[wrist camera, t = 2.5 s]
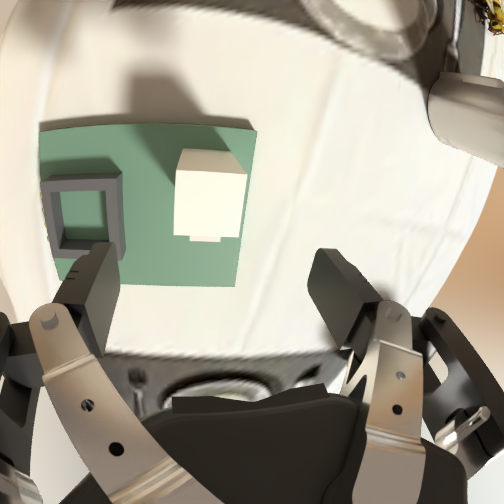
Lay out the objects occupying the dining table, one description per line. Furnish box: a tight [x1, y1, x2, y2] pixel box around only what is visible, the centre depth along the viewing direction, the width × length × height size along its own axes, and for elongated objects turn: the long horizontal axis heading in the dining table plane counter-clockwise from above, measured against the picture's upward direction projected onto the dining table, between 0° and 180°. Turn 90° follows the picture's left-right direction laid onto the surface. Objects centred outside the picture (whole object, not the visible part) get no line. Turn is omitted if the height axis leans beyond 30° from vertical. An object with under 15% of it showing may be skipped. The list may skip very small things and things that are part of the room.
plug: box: [174, 148, 247, 242], centre depth 19 cm, size 5×4×8 cm
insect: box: [468, 0, 504, 35], centre depth 12 cm, size 11×15×5 cm
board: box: [39, 123, 257, 287], centre depth 22 cm, size 16×20×3 cm
